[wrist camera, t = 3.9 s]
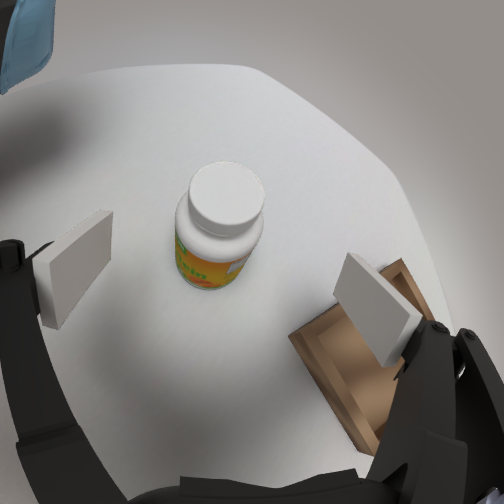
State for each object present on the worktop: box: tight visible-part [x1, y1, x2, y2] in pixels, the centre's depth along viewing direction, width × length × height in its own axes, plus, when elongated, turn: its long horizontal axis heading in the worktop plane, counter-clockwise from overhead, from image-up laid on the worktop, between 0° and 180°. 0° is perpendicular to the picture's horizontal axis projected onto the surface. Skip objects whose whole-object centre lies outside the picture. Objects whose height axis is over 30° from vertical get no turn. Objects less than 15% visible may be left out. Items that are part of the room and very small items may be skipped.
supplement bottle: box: [175, 161, 265, 290], centre depth 19 cm, size 5×5×10 cm
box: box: [288, 258, 435, 457], centre depth 22 cm, size 13×13×2 cm
